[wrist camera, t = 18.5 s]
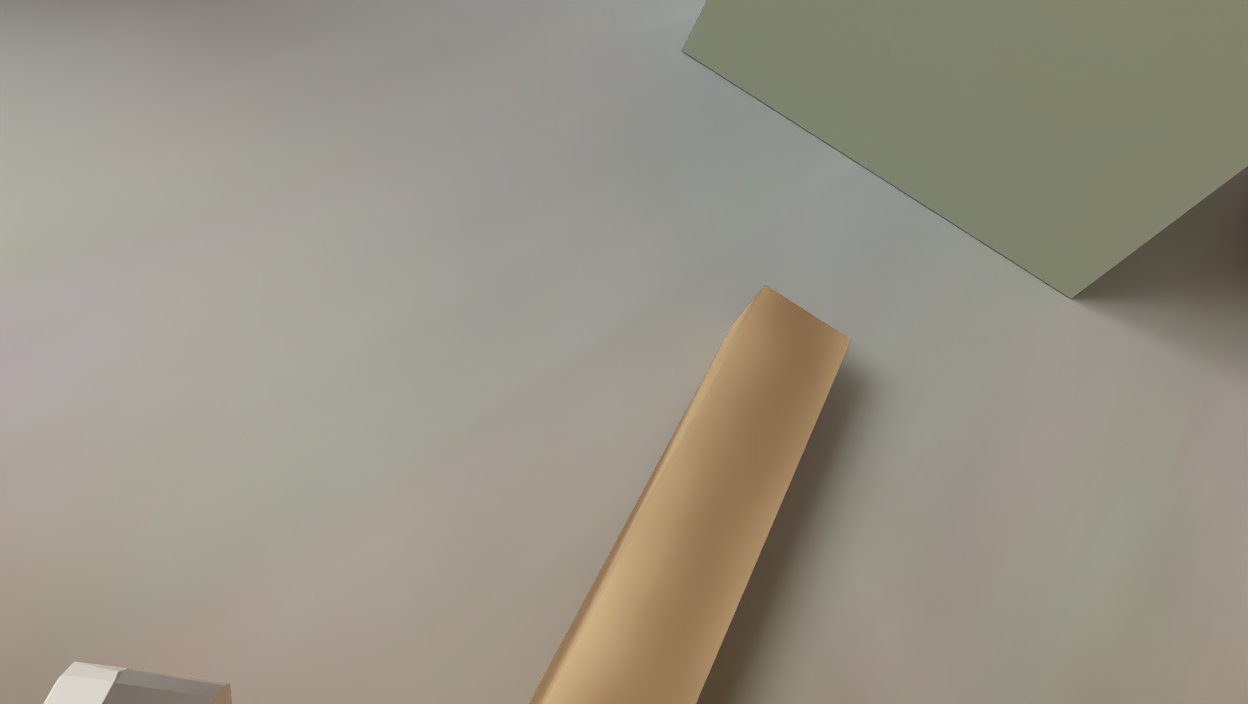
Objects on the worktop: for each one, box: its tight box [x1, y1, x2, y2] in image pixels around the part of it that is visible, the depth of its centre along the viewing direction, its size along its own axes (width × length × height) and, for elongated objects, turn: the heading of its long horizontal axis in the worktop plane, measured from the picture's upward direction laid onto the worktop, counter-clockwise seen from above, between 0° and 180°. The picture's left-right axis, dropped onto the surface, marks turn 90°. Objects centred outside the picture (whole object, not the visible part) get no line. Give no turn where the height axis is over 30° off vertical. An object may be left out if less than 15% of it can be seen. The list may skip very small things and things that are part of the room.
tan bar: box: [529, 285, 851, 704], centre depth 29 cm, size 4×18×3 cm, turn 153°
